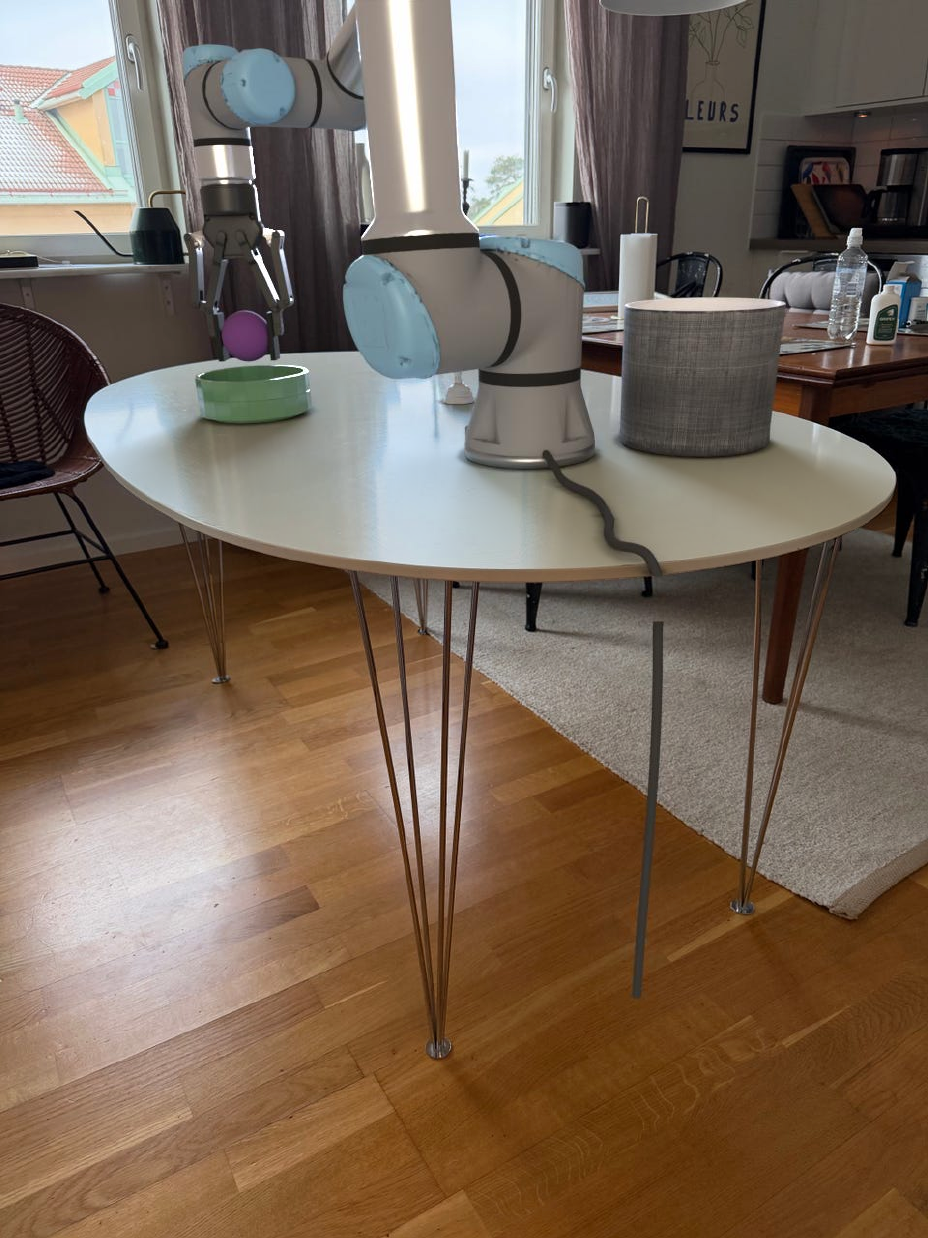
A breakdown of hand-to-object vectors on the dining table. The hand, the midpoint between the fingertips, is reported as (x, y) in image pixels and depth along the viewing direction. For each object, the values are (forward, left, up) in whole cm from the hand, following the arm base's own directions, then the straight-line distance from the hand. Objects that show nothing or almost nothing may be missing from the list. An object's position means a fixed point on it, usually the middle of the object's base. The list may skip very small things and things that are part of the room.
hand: (249, 359), depth 125 cm
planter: (-23, -60, -8) cm, 65 cm away
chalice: (+7, -30, -8) cm, 32 cm away
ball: (0, 0, +3) cm, 3 cm away
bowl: (0, 0, -8) cm, 8 cm away
